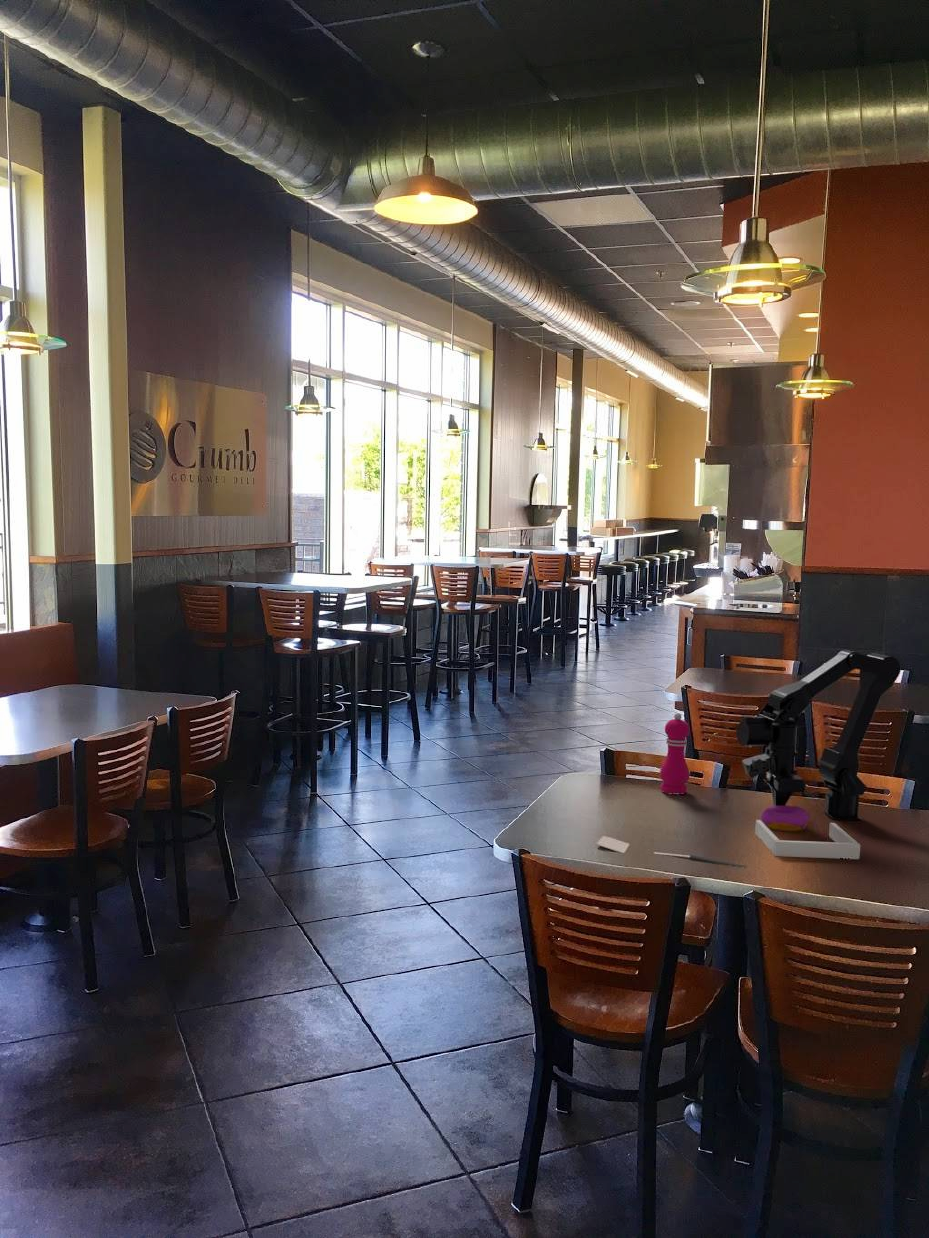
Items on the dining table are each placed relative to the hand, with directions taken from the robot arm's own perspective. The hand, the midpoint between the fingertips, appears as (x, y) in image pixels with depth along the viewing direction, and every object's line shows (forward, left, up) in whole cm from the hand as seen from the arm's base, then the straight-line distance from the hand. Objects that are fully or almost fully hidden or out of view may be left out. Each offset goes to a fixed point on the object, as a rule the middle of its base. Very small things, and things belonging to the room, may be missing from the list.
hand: (778, 811), depth 222 cm
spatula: (+30, +28, -2) cm, 41 cm away
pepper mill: (+20, -20, -2) cm, 28 cm away
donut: (0, +6, -2) cm, 7 cm away
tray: (0, +19, -2) cm, 19 cm away
